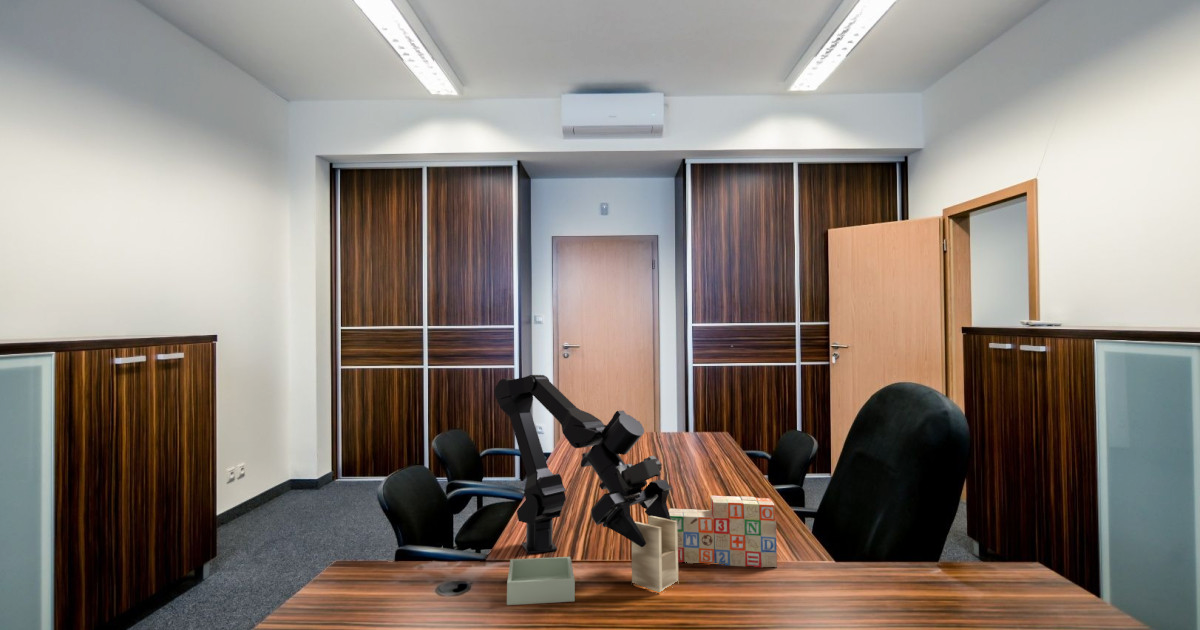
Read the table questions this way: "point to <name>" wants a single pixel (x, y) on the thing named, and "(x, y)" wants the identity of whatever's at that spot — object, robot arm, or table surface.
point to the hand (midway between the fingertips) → (659, 539)
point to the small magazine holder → (656, 554)
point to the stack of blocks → (728, 532)
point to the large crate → (540, 581)
